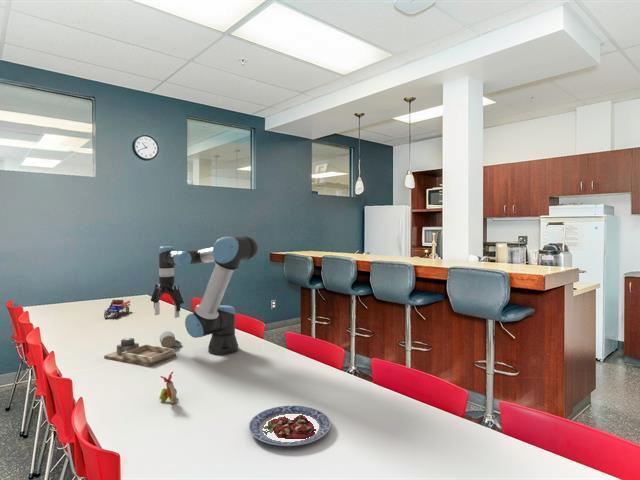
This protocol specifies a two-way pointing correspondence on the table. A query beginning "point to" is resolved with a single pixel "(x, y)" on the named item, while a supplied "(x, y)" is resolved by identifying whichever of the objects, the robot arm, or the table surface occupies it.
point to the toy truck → (116, 308)
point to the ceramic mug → (169, 340)
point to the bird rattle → (168, 390)
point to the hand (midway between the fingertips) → (166, 316)
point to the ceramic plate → (289, 425)
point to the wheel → (127, 341)
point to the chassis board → (141, 354)
